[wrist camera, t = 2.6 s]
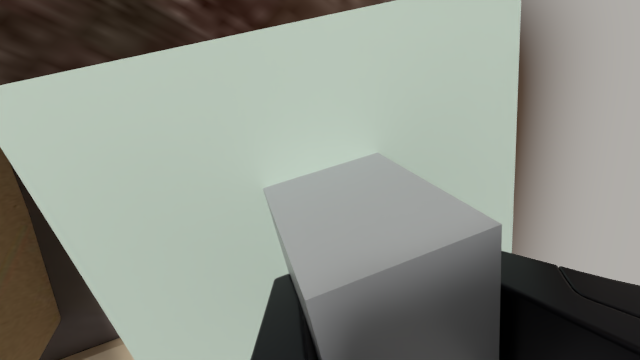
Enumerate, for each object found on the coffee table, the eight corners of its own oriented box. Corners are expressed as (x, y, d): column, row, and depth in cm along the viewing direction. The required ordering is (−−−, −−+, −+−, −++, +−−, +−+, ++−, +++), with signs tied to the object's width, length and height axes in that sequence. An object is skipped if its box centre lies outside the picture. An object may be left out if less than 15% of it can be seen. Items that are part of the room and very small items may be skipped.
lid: (472, 290, 14) (628, 432, 9) (203, 404, 12) (194, 686, 7) (464, -11, 10) (782, -98, 4) (26, 84, 7) (-478, 153, 2)
